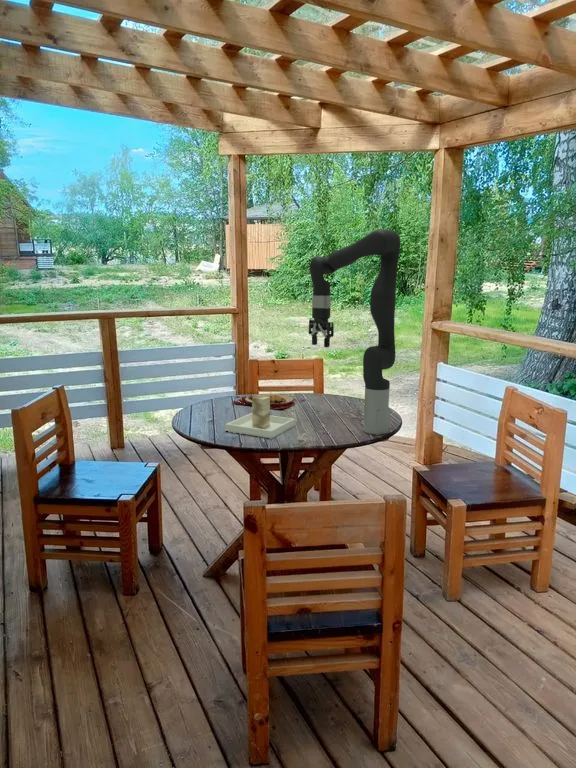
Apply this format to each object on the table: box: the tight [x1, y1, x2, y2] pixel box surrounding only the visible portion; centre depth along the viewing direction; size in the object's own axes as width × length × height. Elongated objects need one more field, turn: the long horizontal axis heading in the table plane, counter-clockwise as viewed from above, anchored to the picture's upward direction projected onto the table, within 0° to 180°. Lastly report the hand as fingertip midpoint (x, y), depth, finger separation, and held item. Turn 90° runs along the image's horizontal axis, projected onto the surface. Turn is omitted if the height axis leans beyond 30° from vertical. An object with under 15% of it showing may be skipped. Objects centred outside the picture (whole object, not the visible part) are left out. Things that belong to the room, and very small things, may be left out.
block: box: [251, 396, 271, 429], centre depth 213 cm, size 5×5×12 cm
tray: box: [224, 412, 296, 440], centre depth 215 cm, size 20×20×3 cm
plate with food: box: [232, 393, 306, 410], centre depth 259 cm, size 25×26×4 cm
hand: (320, 346), depth 229 cm, fingers open, 8 cm apart
